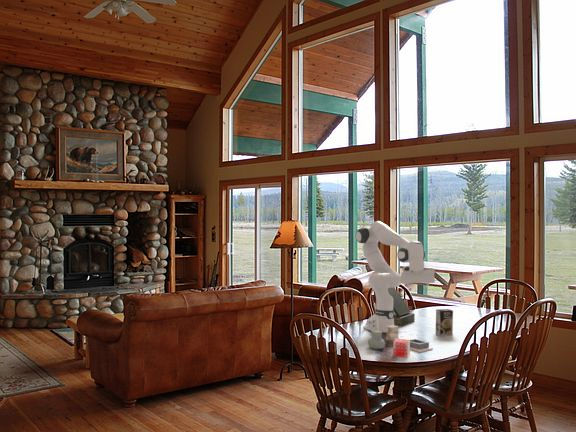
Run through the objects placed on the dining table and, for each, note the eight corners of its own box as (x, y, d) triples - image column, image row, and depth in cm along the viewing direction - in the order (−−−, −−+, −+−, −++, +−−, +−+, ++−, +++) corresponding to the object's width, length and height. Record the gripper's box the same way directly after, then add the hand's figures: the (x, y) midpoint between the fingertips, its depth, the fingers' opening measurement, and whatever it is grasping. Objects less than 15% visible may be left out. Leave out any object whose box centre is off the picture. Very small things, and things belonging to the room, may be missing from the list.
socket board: (401, 346, 320) (401, 340, 320) (414, 344, 326) (414, 337, 326) (419, 352, 308) (419, 345, 308) (432, 349, 314) (432, 342, 314)
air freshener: (367, 346, 321) (367, 329, 320) (381, 346, 321) (381, 329, 321) (371, 351, 310) (371, 333, 310) (385, 350, 310) (386, 333, 310)
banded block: (386, 342, 329) (386, 326, 329) (393, 341, 333) (393, 325, 332) (391, 344, 326) (391, 327, 326) (398, 342, 329) (398, 326, 329)
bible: (401, 327, 375) (401, 291, 375) (375, 323, 387) (375, 288, 387) (414, 321, 394) (415, 287, 393) (389, 318, 405) (390, 285, 405)
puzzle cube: (407, 357, 297) (407, 343, 297) (393, 355, 300) (393, 341, 300) (409, 353, 305) (410, 339, 305) (395, 352, 308) (395, 338, 307)
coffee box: (440, 336, 349) (440, 310, 349) (435, 333, 355) (435, 309, 355) (453, 335, 351) (453, 310, 351) (447, 333, 357) (447, 308, 357)
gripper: (434, 267, 330) (436, 290, 329) (400, 268, 335) (401, 290, 334) (434, 267, 324) (436, 290, 322) (399, 268, 329) (400, 291, 328)
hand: (418, 290), depth 328 cm, fingers open, 8 cm apart
